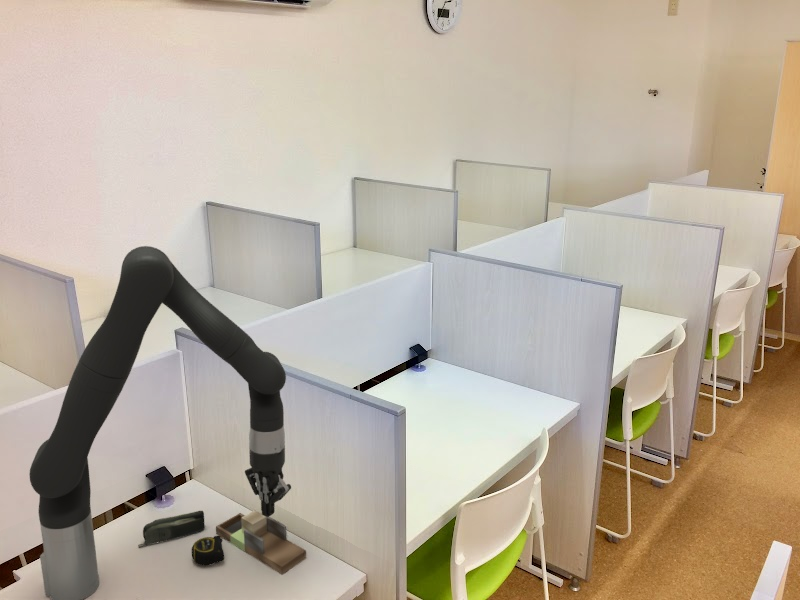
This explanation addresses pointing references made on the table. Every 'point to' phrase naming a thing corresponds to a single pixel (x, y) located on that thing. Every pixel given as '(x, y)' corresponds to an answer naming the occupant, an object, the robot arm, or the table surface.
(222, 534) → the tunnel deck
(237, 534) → the pad
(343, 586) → the table surface
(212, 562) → the tape measure
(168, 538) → the green pencil case
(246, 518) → the block
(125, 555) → the table surface
